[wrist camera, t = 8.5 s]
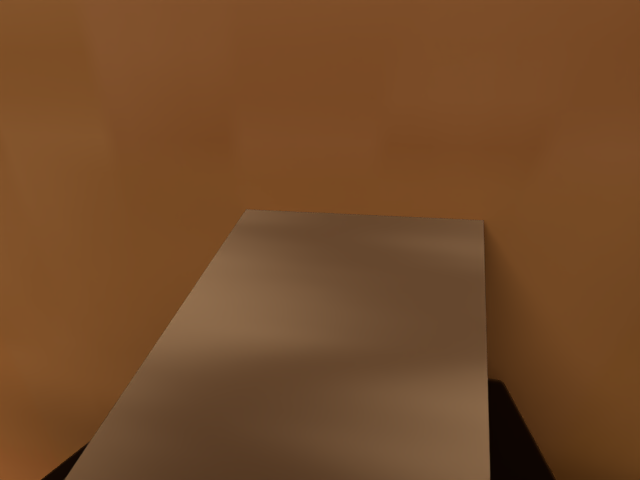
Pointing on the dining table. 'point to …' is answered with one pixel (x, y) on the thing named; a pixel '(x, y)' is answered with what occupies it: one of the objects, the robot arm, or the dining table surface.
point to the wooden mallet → (315, 359)
